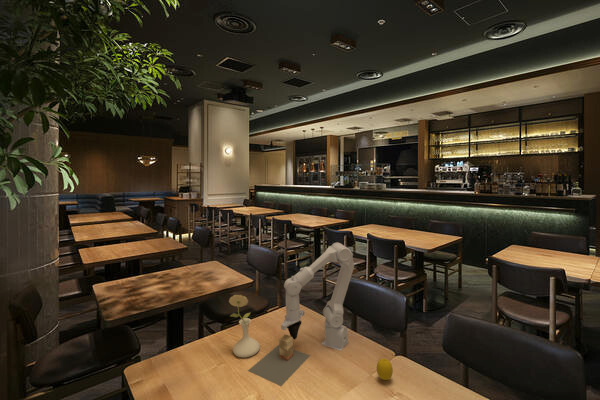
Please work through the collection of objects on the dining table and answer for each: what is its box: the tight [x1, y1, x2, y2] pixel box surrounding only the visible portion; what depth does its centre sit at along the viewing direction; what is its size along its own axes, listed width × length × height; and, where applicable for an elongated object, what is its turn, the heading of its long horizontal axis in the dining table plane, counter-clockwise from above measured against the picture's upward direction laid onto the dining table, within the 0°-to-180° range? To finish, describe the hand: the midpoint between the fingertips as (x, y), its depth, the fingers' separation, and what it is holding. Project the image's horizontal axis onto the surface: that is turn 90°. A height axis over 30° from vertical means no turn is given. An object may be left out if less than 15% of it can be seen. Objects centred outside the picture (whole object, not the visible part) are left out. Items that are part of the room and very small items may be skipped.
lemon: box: [376, 358, 394, 381], centre depth 105 cm, size 6×6×8 cm
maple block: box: [278, 334, 294, 361], centre depth 119 cm, size 4×4×8 cm
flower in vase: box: [228, 294, 261, 358], centre depth 124 cm, size 13×11×25 cm
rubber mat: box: [247, 344, 311, 387], centre depth 116 cm, size 16×20×1 cm
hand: (293, 338), depth 124 cm, fingers closed
